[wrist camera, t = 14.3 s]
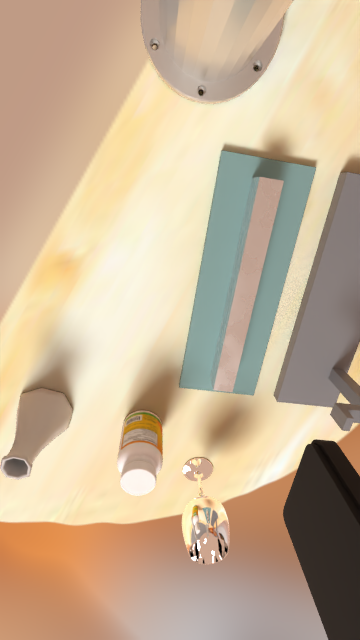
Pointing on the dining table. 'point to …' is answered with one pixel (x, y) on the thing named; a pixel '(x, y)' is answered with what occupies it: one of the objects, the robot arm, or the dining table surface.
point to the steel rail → (245, 279)
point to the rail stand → (329, 316)
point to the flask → (35, 429)
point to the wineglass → (204, 519)
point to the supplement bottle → (140, 452)
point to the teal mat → (220, 261)
